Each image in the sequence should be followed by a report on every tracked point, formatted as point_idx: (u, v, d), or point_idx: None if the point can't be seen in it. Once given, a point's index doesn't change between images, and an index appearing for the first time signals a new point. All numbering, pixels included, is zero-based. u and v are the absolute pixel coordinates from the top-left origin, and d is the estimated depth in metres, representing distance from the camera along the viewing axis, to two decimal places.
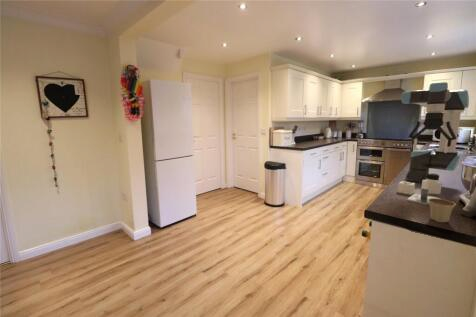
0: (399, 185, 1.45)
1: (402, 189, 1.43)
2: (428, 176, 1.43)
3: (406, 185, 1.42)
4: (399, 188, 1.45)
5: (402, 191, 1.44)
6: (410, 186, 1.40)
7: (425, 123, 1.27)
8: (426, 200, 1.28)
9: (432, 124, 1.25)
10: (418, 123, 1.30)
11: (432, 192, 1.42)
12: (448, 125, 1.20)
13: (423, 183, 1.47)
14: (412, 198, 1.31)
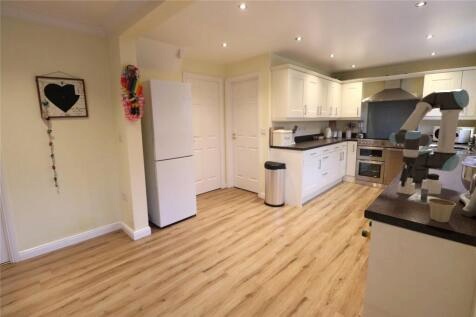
0: (399, 185, 1.45)
1: None
2: (428, 176, 1.43)
3: (406, 185, 1.42)
4: (399, 188, 1.45)
5: None
6: (410, 186, 1.40)
7: None
8: (426, 200, 1.28)
9: None
10: None
11: (432, 192, 1.42)
12: None
13: (423, 183, 1.47)
14: (412, 198, 1.31)
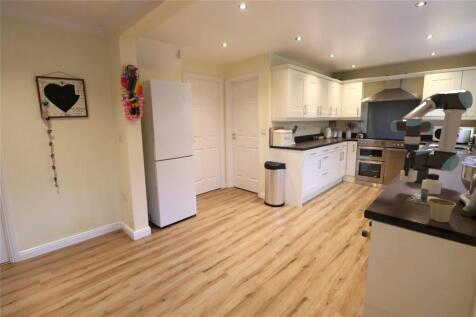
0: (401, 173, 1.44)
1: None
2: (428, 176, 1.43)
3: None
4: (401, 176, 1.44)
5: None
6: (412, 174, 1.39)
7: None
8: (426, 200, 1.28)
9: None
10: None
11: (432, 192, 1.42)
12: None
13: (423, 183, 1.47)
14: (412, 198, 1.31)
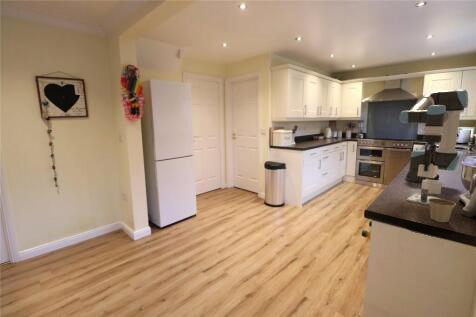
0: (419, 168, 1.28)
1: None
2: None
3: None
4: (420, 172, 1.28)
5: None
6: (433, 168, 1.23)
7: None
8: (426, 200, 1.28)
9: None
10: None
11: (432, 192, 1.42)
12: (425, 149, 1.23)
13: (423, 183, 1.47)
14: (412, 198, 1.31)
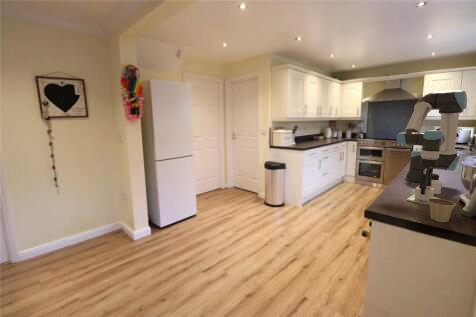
0: (416, 191, 1.30)
1: None
2: None
3: None
4: (416, 194, 1.30)
5: None
6: (429, 192, 1.25)
7: None
8: None
9: None
10: None
11: None
12: (422, 173, 1.25)
13: None
14: (412, 198, 1.31)
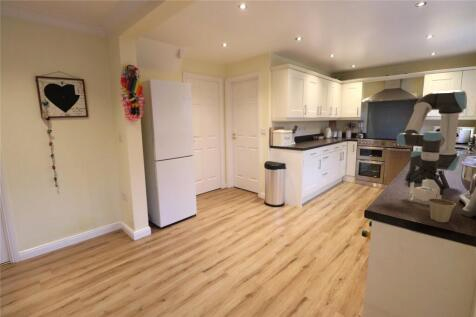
0: (427, 193, 1.25)
1: (429, 196, 1.26)
2: None
3: (432, 191, 1.26)
4: (427, 197, 1.26)
5: None
6: (435, 191, 1.26)
7: (420, 169, 1.30)
8: None
9: (426, 171, 1.28)
10: (414, 168, 1.33)
11: None
12: (440, 174, 1.22)
13: (423, 183, 1.47)
14: (412, 198, 1.31)
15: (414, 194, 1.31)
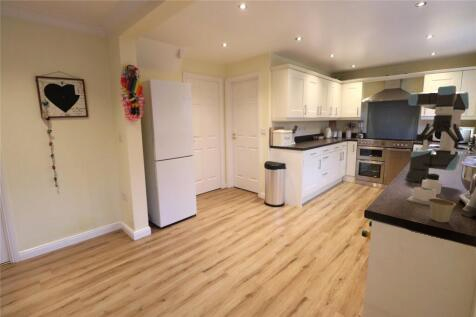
0: (427, 193, 1.25)
1: (429, 196, 1.26)
2: (428, 176, 1.43)
3: (432, 191, 1.26)
4: (427, 197, 1.26)
5: None
6: (435, 191, 1.26)
7: (434, 125, 1.32)
8: None
9: (440, 126, 1.29)
10: (427, 125, 1.34)
11: None
12: (455, 127, 1.23)
13: (423, 183, 1.47)
14: (412, 198, 1.31)
15: (414, 194, 1.31)
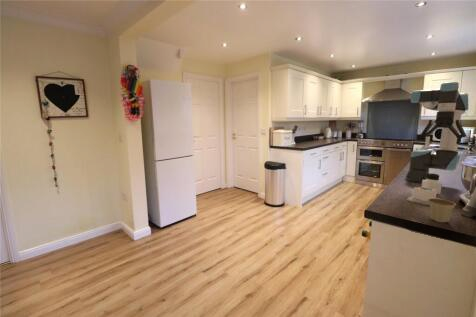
0: (427, 193, 1.25)
1: (429, 196, 1.26)
2: (428, 176, 1.43)
3: (432, 191, 1.26)
4: (427, 197, 1.26)
5: None
6: (435, 191, 1.26)
7: (436, 121, 1.33)
8: None
9: (442, 122, 1.30)
10: (430, 121, 1.35)
11: None
12: (457, 123, 1.24)
13: (423, 183, 1.47)
14: (412, 198, 1.31)
15: (414, 194, 1.31)
